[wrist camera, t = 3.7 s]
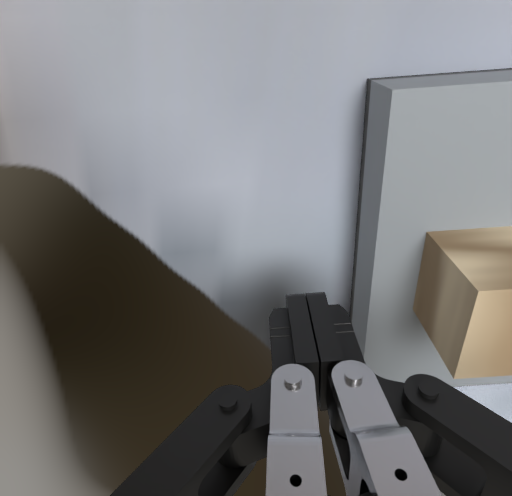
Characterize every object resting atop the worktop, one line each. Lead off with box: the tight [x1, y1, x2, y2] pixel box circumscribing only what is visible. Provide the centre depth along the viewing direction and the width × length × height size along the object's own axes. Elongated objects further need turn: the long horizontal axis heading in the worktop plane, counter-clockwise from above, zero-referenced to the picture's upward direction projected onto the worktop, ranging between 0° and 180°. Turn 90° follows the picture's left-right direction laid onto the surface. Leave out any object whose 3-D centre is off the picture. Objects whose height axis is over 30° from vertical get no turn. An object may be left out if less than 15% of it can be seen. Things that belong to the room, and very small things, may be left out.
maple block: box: [413, 226, 512, 379], centre depth 15 cm, size 4×4×4 cm
